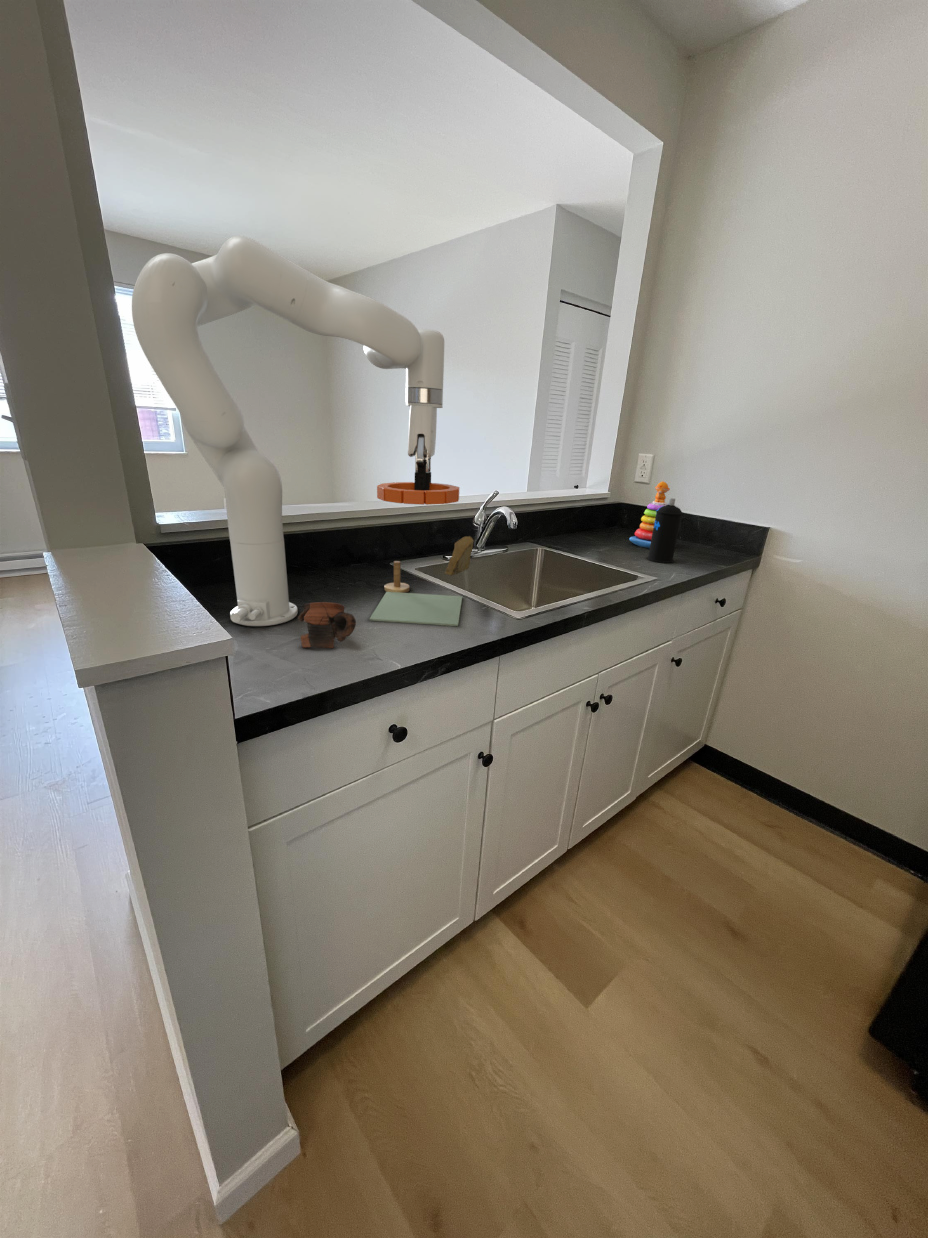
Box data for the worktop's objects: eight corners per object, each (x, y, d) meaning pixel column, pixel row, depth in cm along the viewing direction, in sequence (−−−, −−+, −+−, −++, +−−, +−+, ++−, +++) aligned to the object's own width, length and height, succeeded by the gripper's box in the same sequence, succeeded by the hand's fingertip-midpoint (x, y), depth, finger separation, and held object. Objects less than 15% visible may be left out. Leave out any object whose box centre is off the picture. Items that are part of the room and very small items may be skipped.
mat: (458, 626, 100) (458, 624, 100) (369, 620, 100) (369, 618, 100) (462, 597, 117) (462, 596, 116) (386, 593, 117) (386, 591, 117)
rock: (455, 571, 129) (484, 561, 135) (441, 541, 130) (471, 533, 135) (438, 585, 139) (466, 576, 144) (426, 558, 139) (454, 550, 145)
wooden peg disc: (407, 594, 117) (407, 565, 114) (382, 592, 117) (382, 564, 115) (411, 587, 122) (411, 559, 120) (387, 585, 123) (387, 557, 120)
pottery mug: (284, 648, 87) (286, 602, 88) (320, 653, 95) (321, 611, 97) (341, 645, 82) (342, 596, 84) (373, 650, 91) (373, 606, 92)
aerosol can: (675, 560, 165) (688, 498, 158) (670, 564, 158) (683, 501, 151) (650, 555, 169) (661, 495, 162) (644, 560, 162) (655, 497, 155)
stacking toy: (675, 546, 185) (688, 482, 177) (661, 551, 176) (674, 484, 168) (641, 540, 194) (652, 478, 185) (626, 544, 185) (637, 479, 176)
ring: (456, 506, 94) (457, 493, 93) (370, 502, 94) (370, 489, 93) (460, 495, 109) (460, 483, 108) (386, 491, 109) (386, 480, 108)
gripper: (411, 400, 109) (410, 486, 116) (400, 395, 94) (399, 494, 101) (445, 402, 109) (442, 488, 115) (439, 397, 94) (436, 496, 101)
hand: (422, 490), depth 108 cm, fingers closed on ring, 2 cm apart
